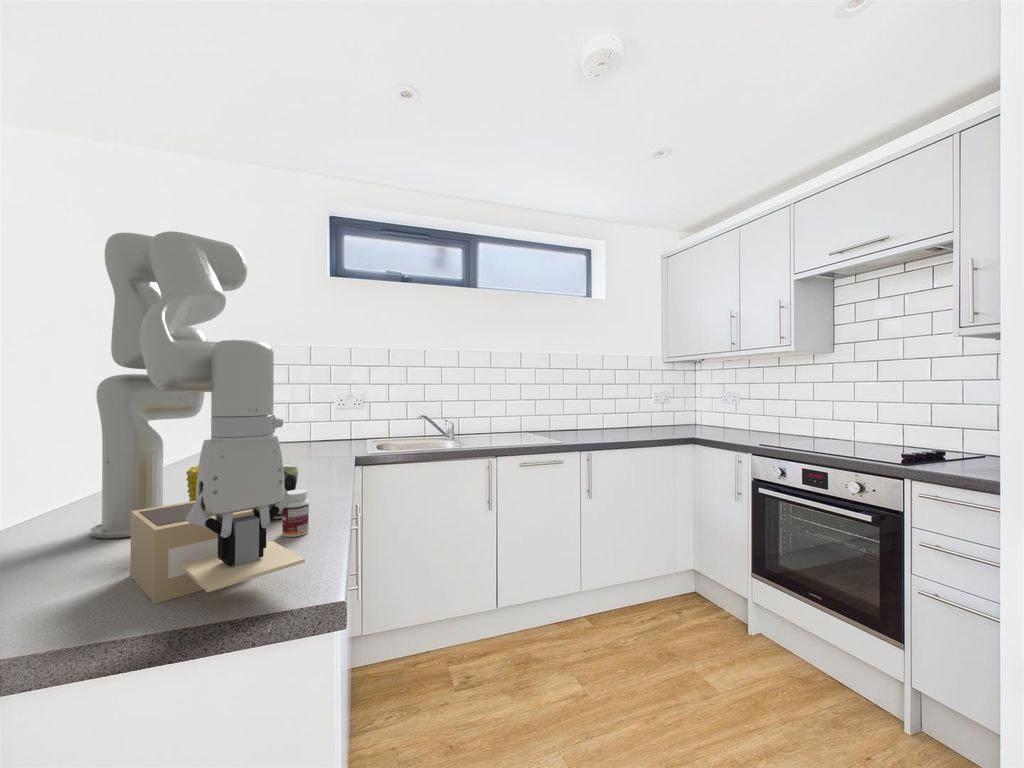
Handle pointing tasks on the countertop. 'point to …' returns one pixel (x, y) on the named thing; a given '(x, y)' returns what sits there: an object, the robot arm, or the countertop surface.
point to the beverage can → (289, 480)
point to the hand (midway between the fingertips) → (242, 557)
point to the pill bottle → (296, 514)
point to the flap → (241, 559)
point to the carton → (169, 549)
